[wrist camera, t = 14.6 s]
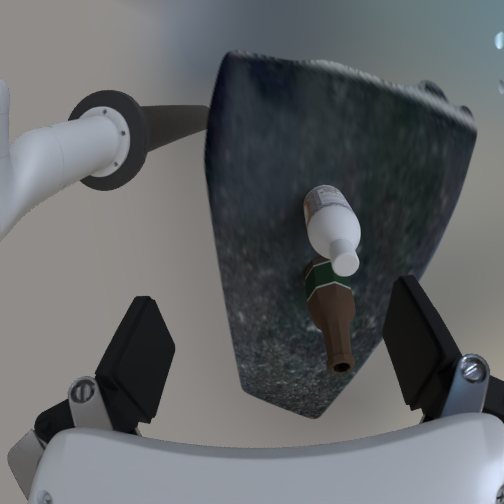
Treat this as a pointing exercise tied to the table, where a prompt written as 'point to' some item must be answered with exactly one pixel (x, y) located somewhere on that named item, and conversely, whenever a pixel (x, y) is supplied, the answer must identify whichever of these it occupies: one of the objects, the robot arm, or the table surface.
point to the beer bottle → (331, 312)
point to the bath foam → (332, 228)
